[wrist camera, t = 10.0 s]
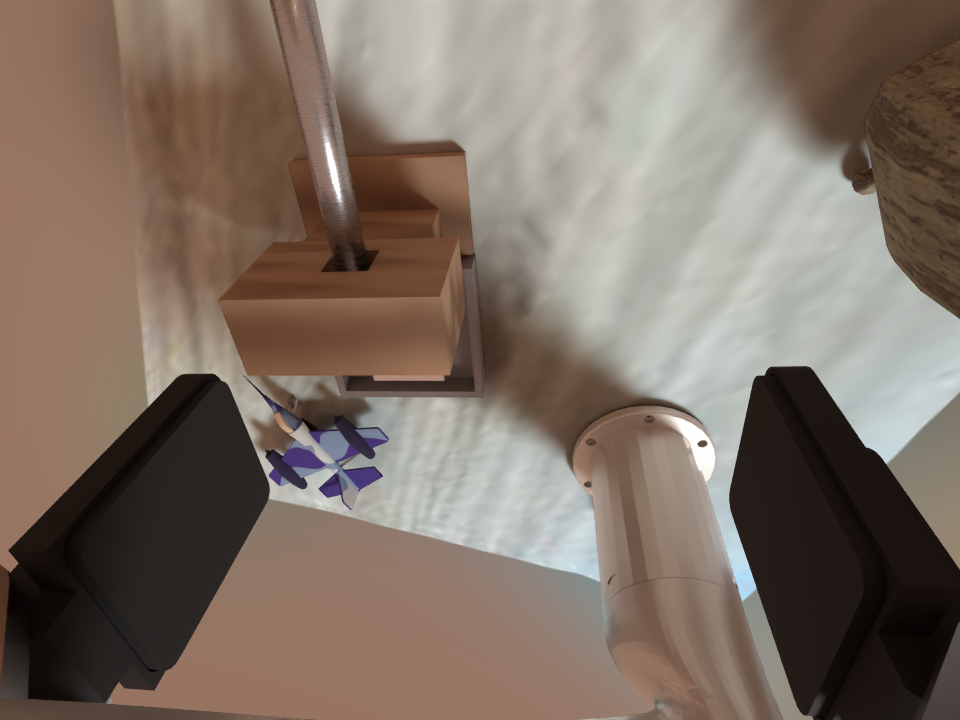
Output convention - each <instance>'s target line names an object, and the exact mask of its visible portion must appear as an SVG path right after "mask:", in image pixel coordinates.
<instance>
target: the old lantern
mask: <svg viewBox="0 0 960 720" xmlns="http://www.w3.org/2000/svg"><path fill="white" fill-rule="evenodd" d="M865 133H866V138H867V144H868V149H869V154H870V160H871V165H872V168H870V169H863V170H862V171H860V172H859V173H858V174H857V175H855V177H854V180H853V182H852V185H853V188H854V191H856V192H858V193H860V194H862V195H867V194H873V193H874V192H875V191H876V192H877V197H878V202H879V208H880V213H881V219H882V224H883V229H884V235H885V240H886V245H887V248H888V250H889V252H890V254H891V256H892V258H893V260H894V261H895V263H896V264H897V265H898V266H899V267H900V268H901V269H902V271H903V272H904V273H905V274H906V275H907V276H908V277H909V278H910V280H911V281H912V282H913V283H914V284H915V285H916V286H917V287H918V289H919V290H920V291H922V292H923V293H924V294H926V295H927V296H929V297H930V298H931V299H933V300H934V301H936V302H937V303H938V304H940V305H941V306H943V307H944V308H945V309H947V310H948V311H950V312H951V313H952V314H954V315H955V316H956V317H958V318H959V319H960V40H958V41H956V42H954V43H952V44H950V45H947V46H945V47H943V48H941V49H939V50H937V51H935V52H933V53H931V54H929V55H927V56H925V57H923V58H922V59H920V60H918V61H916V62H914V63H912V64H910V65H908V66H907V67H905V68H903V69H902V70H900V71H898V72H897V73H895V74H894V75H892V76H891V77H889V78H888V79H886V80H885V81H884V82H883V83H882V85H881V87H880V89H879V91H878V94H877V96H876V98H875V100H874V102H873V105H872V107H871V109H870V111H869V113H868V115H867V118H866V121H865Z"/></svg>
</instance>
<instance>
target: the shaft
mask: <svg viewBox="0 0 960 720" xmlns="http://www.w3.org/2000/svg"><path fill="white" fill-rule="evenodd" d="M269 2H270V6H271V10H272V15H273V19H274V23H275V27H276V31H277V35H278V39H279V43H280V47H281V51H282V55H283V59H284V64H285V68H286V72H287V76H288V80H289V84H290V88H291V92H292V96H293V100H294V104H295V108H296V113H297V117H298V121H299V125H300V129H301V133H302V137H303V141H304V145H305V149H306V153H307V157H308V162H309V166H310V170H311V174H312V178H313V182H314V186H315V190H316V194H317V198H318V202H319V206H320V211H321V215H322V219H323V223H324V227H325V231H326V235H327V239H328V243H329V247H330V251H331V255H332V260H333V264H334V268H335V272H349V271H368V270H369V268H370V266H369V261H368V256H367V251H366V246H365V241H364V237H363V232H362V227H361V222H360V217H359V212H358V207H357V202H356V197H355V193H354V188H353V183H352V178H351V173H350V168H349V163H348V158H347V154H346V149H345V144H344V139H343V134H342V129H341V124H340V119H339V114H338V110H337V105H336V100H335V95H334V90H333V85H332V80H331V75H330V70H329V66H328V61H327V56H326V51H325V46H324V41H323V36H322V31H321V26H320V22H319V17H318V12H317V7H316V2H315V0H269Z"/></svg>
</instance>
